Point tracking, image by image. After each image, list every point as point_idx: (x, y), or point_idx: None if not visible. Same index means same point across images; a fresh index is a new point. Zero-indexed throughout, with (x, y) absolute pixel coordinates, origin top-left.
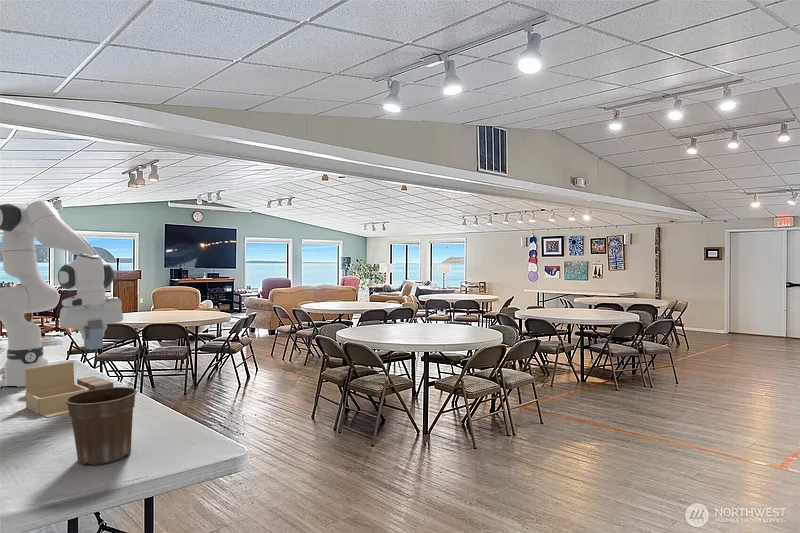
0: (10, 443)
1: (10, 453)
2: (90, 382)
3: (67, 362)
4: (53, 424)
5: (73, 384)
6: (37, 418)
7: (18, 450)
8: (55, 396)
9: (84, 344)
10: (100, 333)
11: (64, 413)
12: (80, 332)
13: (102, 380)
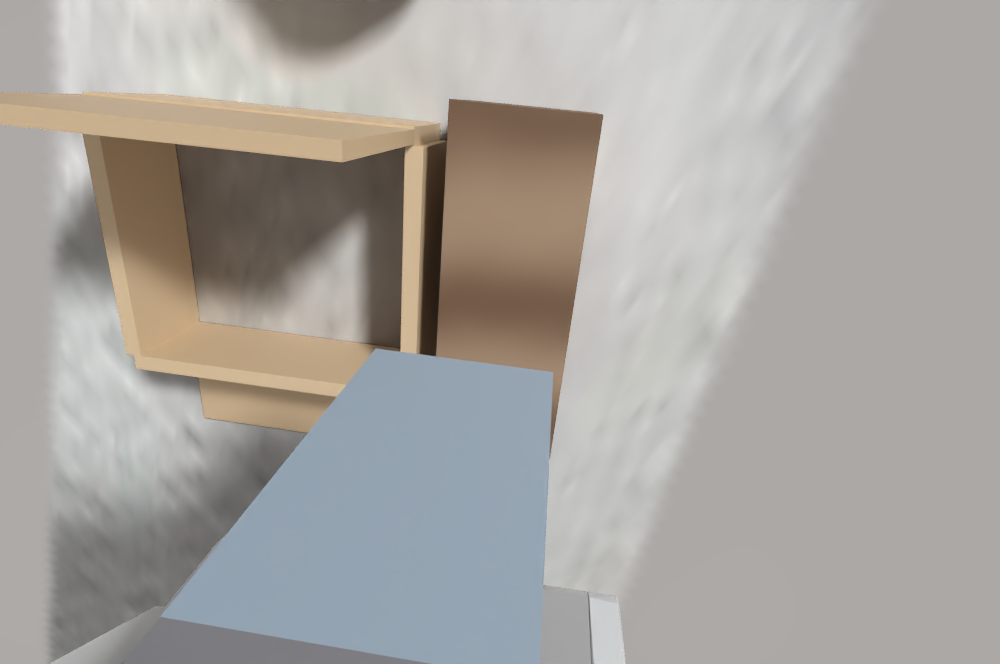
0: (61, 576)
1: (59, 647)
2: (461, 319)
3: (280, 145)
4: (206, 517)
5: (405, 149)
6: (172, 384)
7: (78, 644)
8: (218, 378)
9: (355, 383)
10: None
11: (277, 426)
12: (104, 660)
13: (545, 338)
